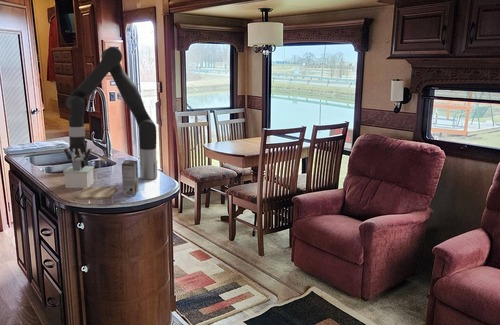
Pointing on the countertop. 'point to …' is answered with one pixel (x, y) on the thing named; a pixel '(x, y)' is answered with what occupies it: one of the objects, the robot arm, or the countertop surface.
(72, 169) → the lid
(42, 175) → the countertop surface
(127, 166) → the coffee box
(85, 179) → the bin
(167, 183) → the countertop surface
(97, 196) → the board
